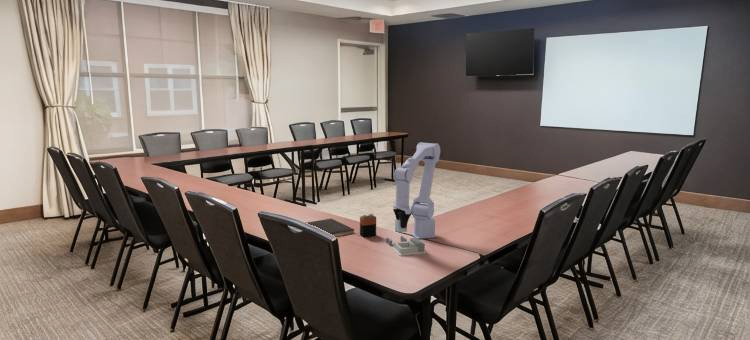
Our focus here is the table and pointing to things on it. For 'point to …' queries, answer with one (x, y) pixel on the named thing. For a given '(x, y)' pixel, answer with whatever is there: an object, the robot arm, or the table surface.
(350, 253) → the table surface
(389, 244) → the holster
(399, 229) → the plug
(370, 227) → the battery
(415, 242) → the port
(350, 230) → the hardcover book
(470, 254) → the table surface
